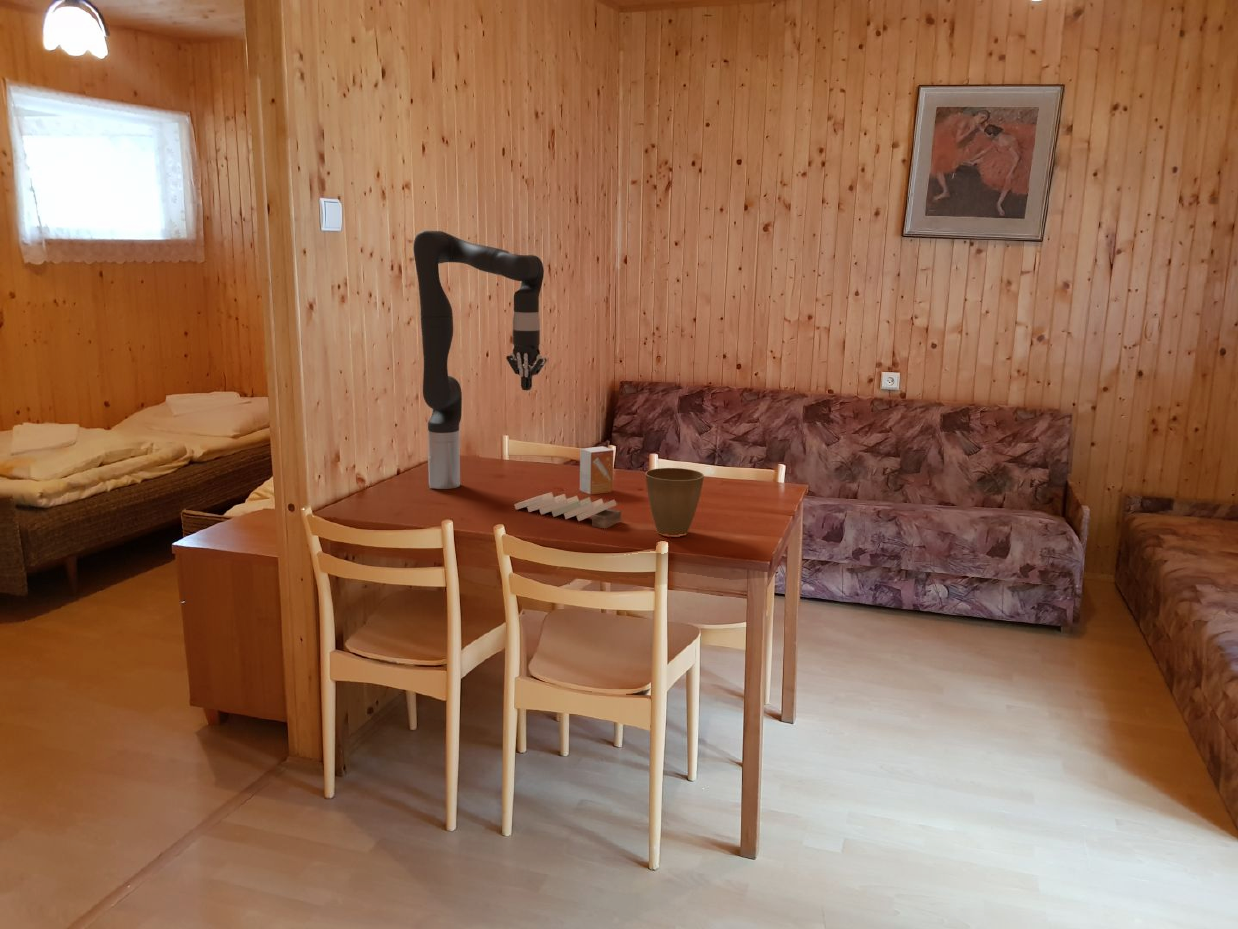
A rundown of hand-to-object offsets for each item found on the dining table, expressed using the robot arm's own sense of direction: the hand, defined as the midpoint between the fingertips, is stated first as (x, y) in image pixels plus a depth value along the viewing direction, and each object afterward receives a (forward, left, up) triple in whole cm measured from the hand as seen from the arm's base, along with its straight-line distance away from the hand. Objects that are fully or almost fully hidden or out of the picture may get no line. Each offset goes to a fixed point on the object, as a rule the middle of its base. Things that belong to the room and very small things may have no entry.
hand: (526, 389), depth 273 cm
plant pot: (+32, -40, -32) cm, 60 cm away
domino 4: (+6, -17, -31) cm, 36 cm away
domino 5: (+9, -20, -31) cm, 38 cm away
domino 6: (+12, -23, -31) cm, 41 cm away
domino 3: (+3, -15, -31) cm, 35 cm away
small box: (+22, +6, -32) cm, 39 cm away
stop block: (+17, -29, -32) cm, 46 cm away
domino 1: (-3, -8, -31) cm, 33 cm away
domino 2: (0, -12, -31) cm, 33 cm away
